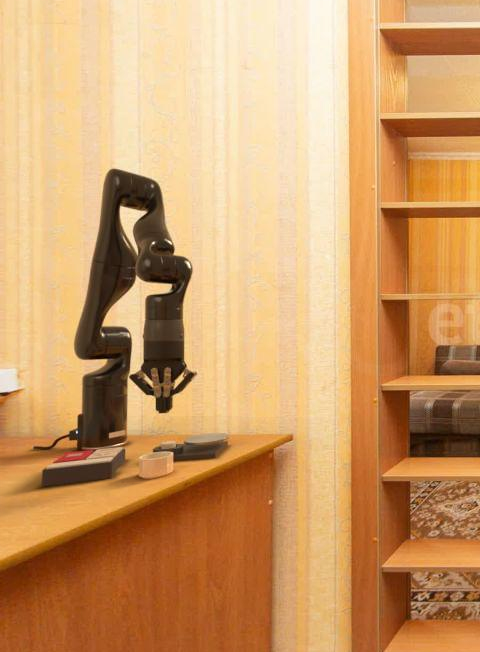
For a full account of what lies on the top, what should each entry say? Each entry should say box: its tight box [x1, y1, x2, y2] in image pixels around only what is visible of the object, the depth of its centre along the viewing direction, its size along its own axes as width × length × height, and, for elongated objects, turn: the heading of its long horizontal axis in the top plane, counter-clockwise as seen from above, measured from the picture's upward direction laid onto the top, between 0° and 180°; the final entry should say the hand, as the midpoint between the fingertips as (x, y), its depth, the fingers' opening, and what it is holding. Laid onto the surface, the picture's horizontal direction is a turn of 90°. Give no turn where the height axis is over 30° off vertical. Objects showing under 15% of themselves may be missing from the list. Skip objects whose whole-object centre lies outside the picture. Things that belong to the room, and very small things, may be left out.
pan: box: [183, 432, 230, 445], centre depth 118 cm, size 10×10×1 cm
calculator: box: [41, 446, 126, 488], centre depth 100 cm, size 11×4×15 cm
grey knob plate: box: [152, 440, 229, 462], centre depth 115 cm, size 14×12×3 cm
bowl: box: [138, 452, 174, 480], centre depth 99 cm, size 6×6×4 cm
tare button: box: [160, 440, 177, 449], centre depth 111 cm, size 3×3×2 cm
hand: (163, 412), depth 102 cm, fingers closed
